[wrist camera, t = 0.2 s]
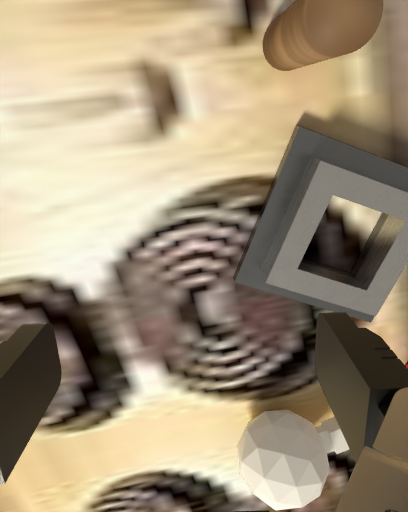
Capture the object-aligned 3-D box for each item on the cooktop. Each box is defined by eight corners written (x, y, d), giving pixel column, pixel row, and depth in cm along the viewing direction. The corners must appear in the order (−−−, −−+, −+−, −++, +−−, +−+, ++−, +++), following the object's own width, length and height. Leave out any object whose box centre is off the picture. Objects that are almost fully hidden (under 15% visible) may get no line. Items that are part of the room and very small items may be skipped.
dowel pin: (274, 7, 27) (327, -49, 17) (319, 26, 28) (397, -17, 18) (255, 60, 28) (294, 38, 18) (299, 78, 29) (360, 66, 19)
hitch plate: (296, 125, 30) (309, 128, 27) (444, 181, 32) (472, 191, 29) (233, 277, 35) (238, 295, 32) (366, 316, 37) (383, 337, 34)
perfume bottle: (245, 483, 43) (344, 444, 43) (263, 549, 34) (388, 500, 34) (220, 412, 42) (320, 374, 43) (231, 461, 33) (358, 412, 34)
